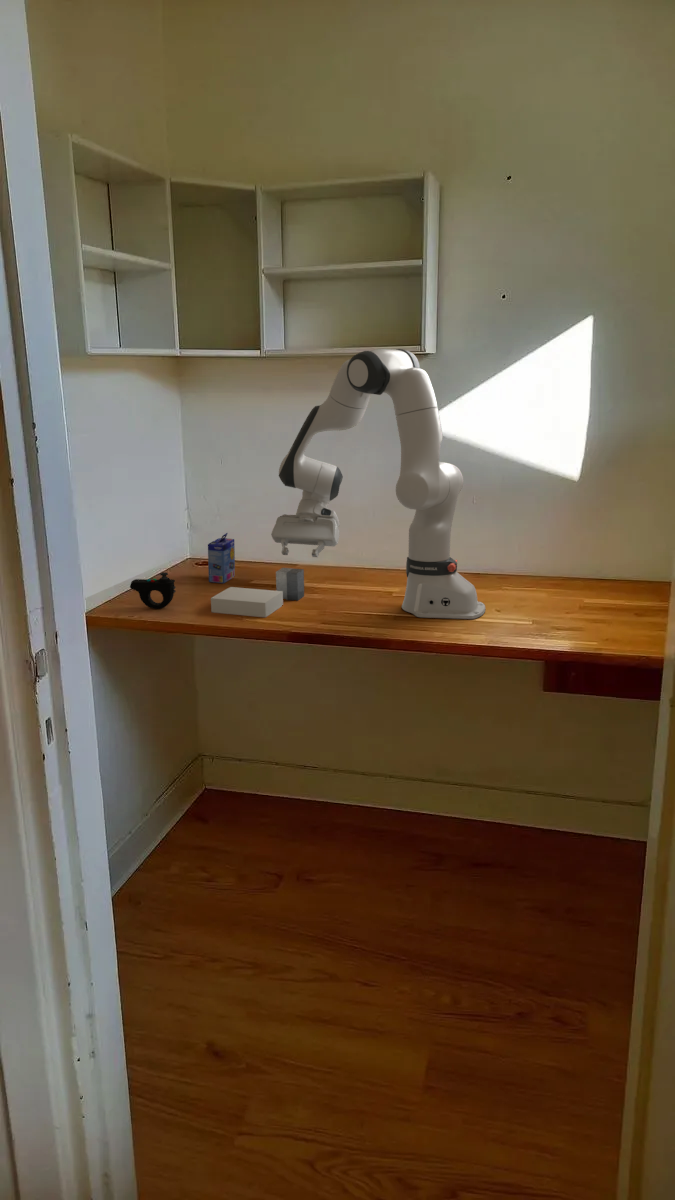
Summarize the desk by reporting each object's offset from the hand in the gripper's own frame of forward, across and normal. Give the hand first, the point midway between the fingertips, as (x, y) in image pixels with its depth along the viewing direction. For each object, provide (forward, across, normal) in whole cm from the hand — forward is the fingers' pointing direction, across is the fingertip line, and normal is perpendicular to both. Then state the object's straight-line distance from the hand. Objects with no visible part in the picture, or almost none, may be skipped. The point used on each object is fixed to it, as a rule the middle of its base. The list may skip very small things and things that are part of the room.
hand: (299, 555), depth 246 cm
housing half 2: (+13, +2, +2) cm, 13 cm away
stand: (+23, -7, -8) cm, 25 cm away
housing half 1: (+13, -2, +2) cm, 13 cm away
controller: (+28, -32, -12) cm, 44 cm away
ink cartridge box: (+4, -28, +12) cm, 31 cm away
